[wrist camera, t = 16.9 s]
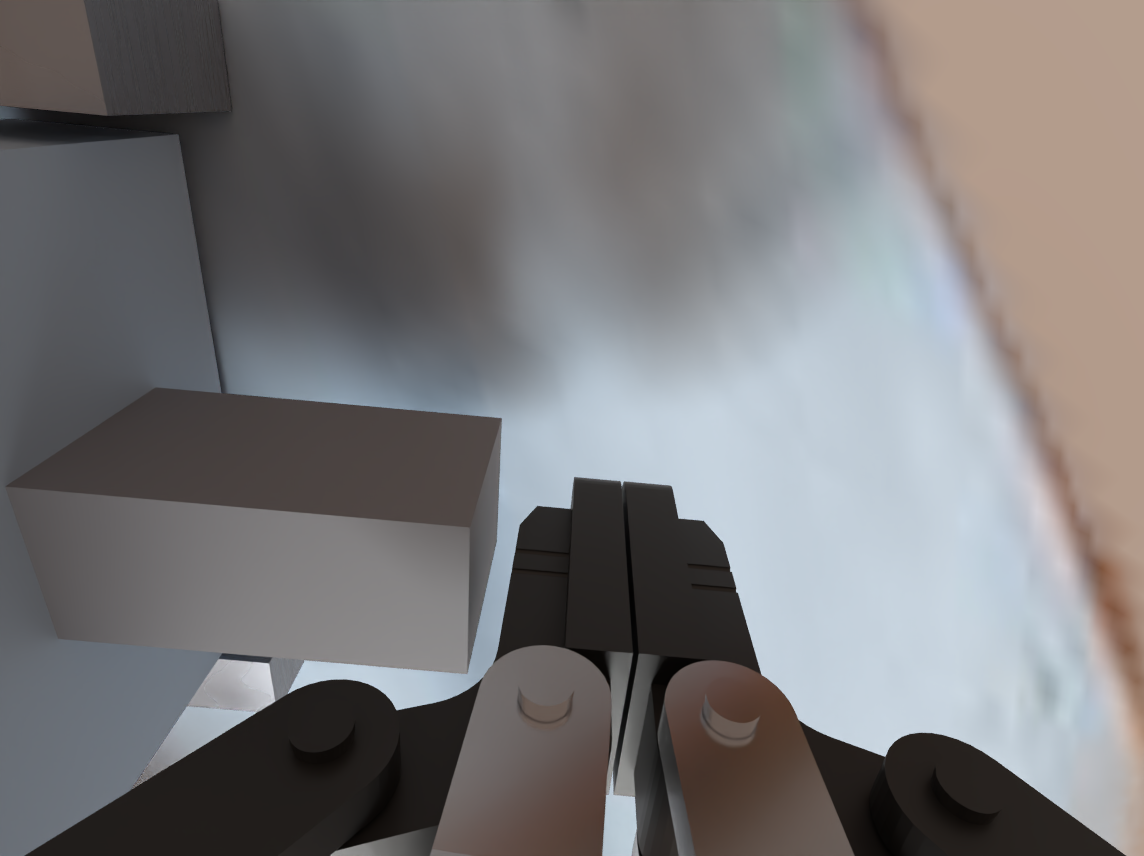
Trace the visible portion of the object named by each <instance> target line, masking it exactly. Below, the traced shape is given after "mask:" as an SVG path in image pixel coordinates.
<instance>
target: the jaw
mask: <svg viewBox="0 0 1144 856" xmlns="http://www.w3.org/2000/svg"><path fill="white" fill-rule="evenodd" d="M501 425H502V418H493V417H481V416H470V415H459V414H448V413H437V412H426V411H415V410H403V409H392V408H381V407H370V406H359V405H348V404H336V403H325V402H314V401H303V400H292V399H281V398H269V397H258V396H247V395H236V394H225V393H221V387H220V381H219V375H218V369H217V363H216V357H215V351H214V345H213V339H212V333H211V327H210V321H209V315H208V309H207V303H206V297H205V291H204V285H203V279H202V273H201V267H200V261H199V255H198V249H197V243H196V237H195V231H194V225H193V219H192V213H191V207H190V201H189V195H188V189H187V183H186V177H185V171H184V165H183V159H182V153H181V147H180V141H179V135H178V134H169V133H158V132H148V131H137V130H126V129H115V128H105V127H94V126H83V125H73V124H62V123H51V122H40V121H30V120H19V119H0V856H24V855H26V854H28V853H29V852H31V851H33V850H34V849H36V848H37V847H39V846H41V845H42V844H44V843H46V842H47V841H49V840H50V839H52V838H54V837H55V836H57V835H59V834H60V833H62V832H64V831H65V830H67V829H68V828H70V827H72V826H73V825H75V824H77V823H78V822H80V821H81V820H83V819H85V818H86V817H88V816H90V815H91V814H93V813H94V812H96V811H98V810H99V809H101V808H103V807H104V806H106V805H108V804H109V803H111V802H112V801H114V800H116V799H117V798H119V797H121V796H122V795H124V794H125V793H127V792H129V791H130V790H131V789H132V787H133V786H134V784H135V783H136V781H137V780H138V778H139V777H140V775H141V774H142V772H143V771H144V769H145V768H146V766H147V765H148V763H149V762H150V760H151V759H152V757H153V756H154V754H155V753H156V751H157V750H158V748H159V747H160V745H161V744H162V742H163V741H164V739H165V738H166V736H167V735H168V733H169V732H170V730H171V729H172V728H173V726H174V725H175V723H176V722H177V720H178V719H179V717H180V716H181V714H182V713H183V711H184V710H185V708H186V707H187V705H188V704H189V702H190V701H191V699H192V698H193V696H194V695H195V693H196V692H197V690H198V689H199V687H200V686H201V684H202V683H203V681H204V680H205V678H206V677H207V675H208V674H209V672H210V671H211V669H212V668H213V666H214V665H215V663H216V662H217V660H218V659H219V657H220V656H221V654H222V653H228V654H239V655H251V656H263V657H274V658H286V659H298V660H309V661H321V662H333V663H344V664H356V665H368V666H379V667H391V668H403V669H414V670H426V671H437V672H449V673H461V674H467V673H468V668H469V664H470V659H471V655H472V650H473V646H474V641H475V637H476V632H477V628H478V623H479V619H480V614H481V610H482V605H483V601H484V596H485V592H486V587H487V583H488V578H489V574H490V569H491V565H492V560H493V556H494V551H495V547H496V542H497V522H498V498H499V473H500V449H501Z"/></svg>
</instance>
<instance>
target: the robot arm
mask: <svg viewBox="0 0 1144 856" xmlns="http://www.w3.org/2000/svg"><path fill="white" fill-rule="evenodd" d="M612 771H613V784H614V795H621V796H632V797H635V803H636V820H637V830H636V835H635V840H634V844H633V849H632V856H1126V855H1124V854H1123V853H1121V852H1120V851H1119V850H1117V849H1116V848H1115V847H1113V846H1112V845H1111V844H1109V843H1108V842H1106V841H1105V840H1104V839H1102V838H1101V837H1100V836H1098V835H1097V834H1095V833H1094V832H1093V831H1091V830H1090V829H1089V828H1087V827H1086V826H1085V825H1083V824H1082V823H1080V822H1079V821H1078V820H1076V819H1075V818H1074V817H1072V816H1071V815H1069V814H1068V813H1067V812H1065V811H1064V810H1063V809H1061V808H1060V807H1059V806H1057V805H1056V804H1054V803H1053V802H1052V801H1050V800H1049V799H1048V798H1046V797H1045V796H1043V795H1042V794H1041V793H1039V792H1038V791H1037V790H1035V789H1034V788H1033V787H1031V786H1030V785H1028V784H1027V783H1026V782H1024V781H1023V780H1022V779H1020V778H1019V777H1017V776H1016V775H1015V774H1013V773H1012V772H1011V771H1009V770H1008V769H1007V768H1005V767H1004V766H1002V765H1001V764H1000V763H998V762H997V761H996V760H994V759H993V758H991V757H990V756H988V755H987V754H985V753H984V752H982V751H980V750H978V749H976V748H975V747H973V746H971V745H969V744H966V743H964V742H962V741H959V740H957V739H954V738H951V737H947V736H944V735H939V734H933V733H915V734H909V735H907V736H904V737H901V738H900V739H898V740H897V741H895V742H894V743H893V744H892V746H891V747H890V748H889V750H888V752H887V755H886V757H884V756H881V755H878V754H876V753H873V752H870V751H867V750H865V749H862V748H859V747H856V746H853V745H851V744H848V743H845V742H842V741H840V740H837V739H834V738H831V737H829V736H827V735H824V734H822V733H820V732H818V731H816V730H814V729H812V728H810V727H808V726H807V725H805V724H804V723H802V722H801V721H799V720H798V718H797V715H796V713H795V711H794V709H793V707H792V705H791V703H790V702H789V700H788V699H787V698H786V696H785V695H784V694H783V693H782V692H781V691H780V689H779V688H778V687H777V686H776V685H774V684H773V683H772V682H771V681H769V680H768V679H767V678H765V677H764V676H762V675H761V672H760V668H759V665H758V662H757V658H756V655H755V651H754V648H753V644H752V641H751V637H750V634H749V630H748V627H747V623H746V620H745V617H744V613H743V610H742V606H741V603H740V599H739V596H738V593H736V585H735V582H734V578H733V575H732V572H730V565H729V561H728V558H727V554H726V551H725V547H724V544H723V542H722V541H721V540H720V539H719V538H718V537H717V535H716V534H715V533H714V532H713V531H712V530H711V529H710V528H709V527H708V525H707V524H706V523H705V522H704V521H698V520H687V519H678V514H677V509H676V504H675V499H674V494H673V490H672V487H671V486H668V485H657V484H646V483H635V482H624V483H623V486H621V482H620V481H611V480H600V479H589V478H578V477H574V483H573V491H572V501H571V509H564V508H553V507H542V506H537V507H536V508H535V509H534V510H533V511H532V512H531V513H530V514H529V516H528V517H527V518H526V519H525V520H524V521H523V522H522V523H521V524H520V527H519V533H518V539H517V544H516V552H515V556H514V561H513V567H512V573H511V578H510V584H509V590H508V595H507V601H506V607H505V612H504V618H503V624H502V629H501V635H500V641H499V646H498V651H497V655H496V658H495V661H494V663H493V665H492V666H491V667H490V668H489V669H488V670H487V672H486V673H485V675H484V677H483V678H482V679H481V680H480V681H479V682H478V683H477V684H475V685H474V686H472V687H471V688H470V689H468V690H467V691H465V692H463V693H461V694H459V695H457V696H455V697H452V698H450V699H447V700H444V701H440V702H436V703H432V704H427V705H422V706H417V707H412V708H407V709H402V710H396V709H395V707H394V705H393V703H392V702H391V701H390V699H389V698H388V697H387V696H386V695H385V694H384V693H382V692H381V691H380V690H378V689H377V688H375V687H373V686H371V685H369V684H366V683H362V682H359V681H353V680H328V681H321V682H317V683H313V684H309V685H307V686H304V687H302V688H299V689H296V690H295V691H293V692H291V693H289V694H287V695H285V696H284V697H282V698H280V699H279V700H277V701H275V702H274V703H272V704H270V705H269V706H267V707H266V708H264V709H262V710H261V711H259V712H257V713H256V714H254V715H253V716H251V717H249V718H248V719H246V720H244V721H243V722H241V723H240V724H238V725H236V726H235V727H233V728H231V729H230V730H228V731H226V732H225V733H223V734H222V735H220V736H218V737H217V738H215V739H213V740H212V741H210V742H209V743H207V744H205V745H204V746H202V747H200V748H199V749H197V750H196V751H194V752H192V753H191V754H189V755H187V756H186V757H184V758H182V759H181V760H179V761H178V762H176V763H174V764H173V765H171V766H169V767H168V768H166V769H165V770H163V771H161V772H160V773H158V774H156V775H155V776H153V777H152V778H150V779H148V780H147V781H145V782H143V783H142V784H140V785H138V786H137V787H135V788H134V789H132V790H130V791H129V792H127V793H125V794H124V795H122V796H121V797H119V798H117V799H116V800H114V801H112V802H111V803H109V804H108V805H106V806H104V807H103V808H101V809H99V810H98V811H96V812H94V813H93V814H91V815H90V816H88V817H86V818H85V819H83V820H81V821H80V822H78V823H77V824H75V825H73V826H72V827H70V828H68V829H67V830H65V831H64V832H62V833H60V834H59V835H57V836H55V837H54V838H52V839H50V840H49V841H47V842H46V843H44V844H42V845H41V846H39V847H37V848H36V849H34V850H33V851H31V852H29V853H28V854H26V855H24V856H602V849H603V833H604V818H605V802H606V795H609V789H610V783H611V777H612Z"/></svg>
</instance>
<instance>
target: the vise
mask: <svg viewBox="0 0 1144 856" xmlns="http://www.w3.org/2000/svg"><path fill="white" fill-rule="evenodd" d="M0 106H10V107H21V108H31V109H42V110H53V111H63V112H74V113H85V114H95V115H106V116H111V115H138V114H165V113H193V112H220V111H232V108H231V100H230V93H229V85H228V78H227V70H226V62H225V55H224V47H223V39H222V32H221V24H220V17H219V9H218V1H217V0H0ZM303 663H304V660H298V659H286V658H274V657H263V656H251V655H239V654H228V653H222V654H221V656H220V657H219V659H218V660H217V662H216V663H215V665H214V666H213V668H212V669H211V671H210V672H209V674H208V675H207V677H206V678H205V680H204V681H203V683H202V684H201V686H200V687H199V689H198V690H197V692H196V693H195V695H194V696H193V698H192V699H191V701H190V702H189V704H188V705H187V706H194V707H206V708H217V709H229V710H241V711H253V712H259V711H261V710H262V709H264V708H266V707H267V706H269V705H270V704H272V703H274V702H275V701H277V700H279V699H280V698H282V697H284V696H285V695H287V694H288V692H289V690H290V688H291V686H292V684H293V682H294V680H295V678H296V676H297V674H298V672H299V670H300V668H301V666H302V665H303Z"/></svg>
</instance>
